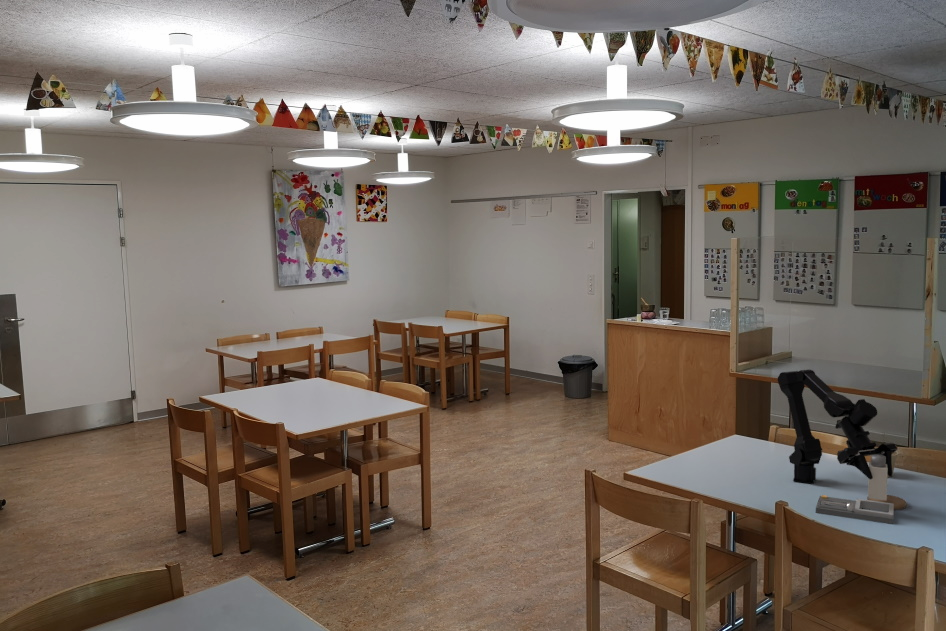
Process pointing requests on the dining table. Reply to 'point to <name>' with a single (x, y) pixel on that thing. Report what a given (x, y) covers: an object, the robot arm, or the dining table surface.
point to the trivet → (893, 501)
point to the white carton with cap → (878, 477)
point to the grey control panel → (858, 509)
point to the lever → (837, 504)
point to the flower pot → (893, 461)
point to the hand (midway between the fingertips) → (881, 477)
